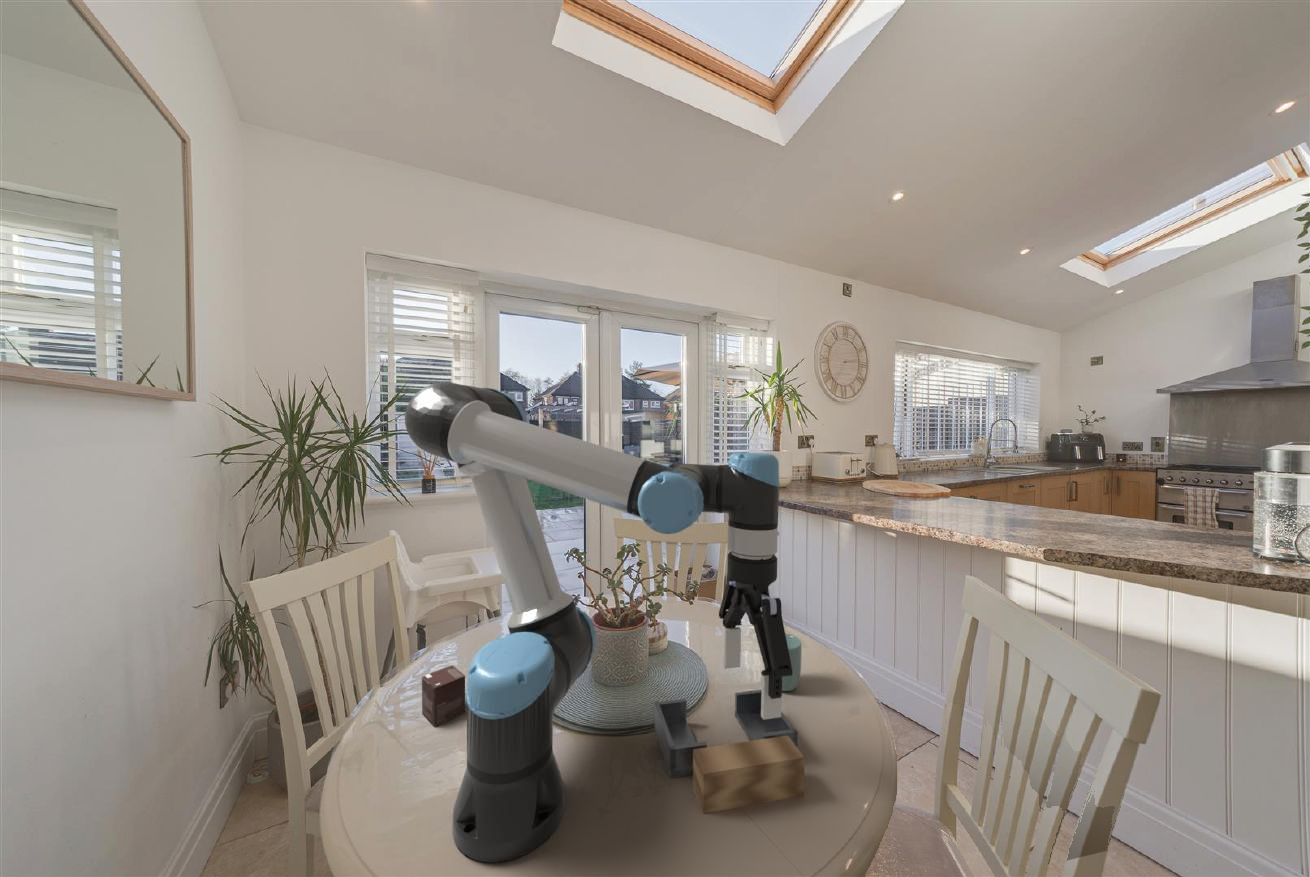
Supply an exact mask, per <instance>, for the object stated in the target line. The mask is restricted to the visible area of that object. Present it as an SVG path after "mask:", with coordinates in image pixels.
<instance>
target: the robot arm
mask: <svg viewBox="0 0 1310 877" xmlns="http://www.w3.org/2000/svg"><path fill="white" fill-rule="evenodd" d="M404 413H405V415H404V424H405V425H404V426H405V428H406V429H405V430H406V432H407V434H408V435H409V438H410V439H411V441H412V442H413V443H414V444H415V445H416V446H417V447H418V448H419V449H421V450H422V451H424V452H426V453H428V454H430V455H433V456H437V457H439V458H442V459H445V460H449V461H450V462H454V463H456V464H457V468H458V471H459V473H462V474H464V475H465V476H467V477H469V478H471V481H472V483H473V484H472V485H473V487H474V490H475V494H476V497H477V501H478V504H479V506H480V509H481V510H480V511H481V514H482V515H483V516H482V517H483V519H484V522H485V526H486V529H487V533H488V535H489V538H490V541H491V545H492V547H493V552H494V554H495V557H496V561H497V564H498V567H499V570H500V574H501V577H502V580H503V583H504V586H505V589H506V592H507V597H508V599H509V602H510V606H511V609H512V612H511V614H510V617H509V619H508V621H507V624H506V625H507V628H508V632H509V633H507V634H505V636H504V637H503V638H501V637H498V638H495V639H493V640H491V641H489V642H488V643H486V644H485V645H483V647H481V648H480V649H479V650H478V651H477V652H476V654H475V655H474V656H473V658H472V660H471V661H470V663H469V666H468V671H467V682H466V684H465V702H466V769H465V771H464V775H463V778H462V781H461V784H460V787H459V790H458V792H457V796H456V799H455V802H454V805H453V812H452V838H453V840H454V843H455V845H456V847H457V849H458V850H459V851H460V852H461V853H462V854H464V855H465V856H466V855H467V857H468V858H471V859H472V860H475V861H478V862H484V861H485V862H484V863H499V862H506V861H510V860H513V859H517V858H520V857H523V856H525V855H526V854H528V853H530V852H532V851H534V850H536V848H537V847H539V846H541V845H542V844H543V843H544V842H545V841H546V840H548V838H549V837H550V836H551V835H552V834H553V833H554V831H555V830H556V829H557V827H558V825H559V824H560V822H561V820H562V817H563V814H564V810H565V785H564V784H565V783H564V779H563V777H562V773H561V771H560V768H559V765H558V762H557V759H556V756H555V753H554V751H553V750H554V749H553V746H554V744H553V740H554V738H553V736H554V735H553V734H554V732H553V730H554V728H553V727H554V713H555V710H556V709H557V707H558V706H559V705H560V703H561V702H562V700H563V699H564V698H565V696H566V695H567V693H568V692H569V691H570V690H571V688H572V687H573V685H574V684H575V682H576V681H577V680H578V679H579V678H580V677H581V676H582V675H583V674H584V672H585V671H586V669H587V668H588V666H589V665H590V662H591V660H592V658H593V656H594V654H595V650H596V645H597V634H596V628H595V626H594V623H593V621H592V619H591V617H590V616H589V614H587V612H586V611H583V610H581V608H580V607H578V606H577V605H576V602H575V598H574V596H573V595H571V594H569V593H567V592H565V591H563V590H562V588H561V583H560V582H559V578H558V575H557V572H556V570H555V566H554V563H553V560H552V556H551V553H550V550H549V547H548V545H547V541H546V538H545V535H544V532H543V529H542V525H541V522H540V520H539V519H540V518H539V517H538V514H537V510H536V507H535V505H534V504H535V503H534V501H533V498H532V494H531V491H530V489H529V486H528V482H527V480H530V481H532V482H536V483H538V484H542V485H544V486H547V487H550V488H553V489H556V490H559V491H562V492H564V493H568V494H571V495H574V496H577V497H580V498H582V499H585V500H589V501H591V502H595V503H597V504H599V505H603V506H606V507H609V508H611V509H615V510H617V511H621V512H623V513H626V514H630V515H632V516H635V517H638V518H640V519H641V520H642V521H643V522H644V523H645V525H646V526H648V527H649V528H650V529H651V530H652V531H654V532H656V533H659V534H663V535H673V534H678V533H681V532H683V531H684V530H686V529H688V528H689V527H691V526H693V524H695V522H697V520H698V519H699V517H700V516H701V515H702V513H714V514H715V513H717V514H728V523H727V549H728V551H729V553H727V567H726V568H727V571H726V572H727V573H726V585H725V588H724V591H723V595H722V600H721V603H720V607H719V611H718V618H719V619H722V626H723V627H724V629H723V630H724V631H723V632H724V633H723V635H724V636H723V640H724V641H723V668H724V669H735V668H740V667H741V656H742V655H741V654H742V653H741V651H742V650H741V648H742V646H741V645H742V642H741V641H742V628H741V627H739V626H743V624H742V619H743V618H744V616H745V614H746V616H747V618H748V622H749V623H750V625H752V626H753V628H754V632H755V635H756V640H757V644H758V647H759V648H758V649H759V651H760V655H761V659H762V662H763V667H765V669H763V670H761V671H760V674H761V689H760V690H761V717H762V718H763V720H765V719H771V718H778V717H781V711H782V696H783V691H782V677H784V676H792V674H793V671H792V666H791V661H790V656H789V651H788V645H787V640H786V635H785V633H786V630H785V626H784V625H785V624H784V620H783V617H782V616H783V615H782V613H783V612H782V600H781V598H780V597H771V596H770V591H769V587H770V585H772V584H773V583H775V582H776V581H777V578H778V557H777V556H776V554H777V553H778V540H779V539H778V538H779V535H780V532H779V531H778V527H779V507H780V506H779V505H780V503H779V500H780V485H781V484H780V470H779V469H780V467H779V466H780V465H779V459H778V458H777V457H776V456H775V455H774V454H772V453H763V452H733V453H731V454H730V456H729V460H728V464H719V465H718V464H716V465H715V464H699V463H698V464H697V463H695V464H694V463H680V462H671V463H657V462H655V461H654V462H653V461H649V460H647V459H643V458H641V457H638V456H633V455H632V454H628V453H624V452H622V451H619V450H615V449H612V448H609V447H605V446H604V445H600V444H596V443H593V442H589V441H586V440H583V439H581V438H577V437H573V436H570V435H567V434H564V433H561V432H557V431H555V430H550V429H548V428H546V427H542V426H539V425H535V424H532V423H529V422H528V421H527V415H526V413H525V409H523V407H522V405H521V404H520V403H519V401H518V400H517V399H516V398H514V397H513V396H512V395H509V394H508V393H507V392H506V393H505V392H503V391H501V390H499V389H495V388H488V387H477V386H470V385H465V384H461V383H460V384H459V383H456V382H448V381H447V382H438V383H437V382H436V383H433V384H430V385H427V386H425V387H424V388H421V389H420V390H419V391H417V392H416V393H415V394H414V395H413V396H412V398H411V399H410V400H409V402H408V405H407V406H406V409H405V412H404Z"/></svg>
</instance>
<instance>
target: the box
mask: <svg viewBox="0 0 1310 877" xmlns="http://www.w3.org/2000/svg"><path fill="white" fill-rule="evenodd" d="M465 713H466V675H465V674H464V673H463V672H461V671H460V670H459V669H458V668H456V666H454V665H453V664H451V665H449V666H447V667H444V668H441V669H439V670H436V671H433V672H429V673H427V674H426V675H423V676H421V714H422V715H423V716H424V718H426V719H427V721H428V722H429V723H430V724H431V725H432V726H433V727H437V726H439V725H441V724H443V723H445V722H447V721H450V720H451V719H454V718H456V717H458V716H461V715H462V714H465Z"/></svg>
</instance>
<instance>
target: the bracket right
mask: <svg viewBox="0 0 1310 877" xmlns="http://www.w3.org/2000/svg"><path fill="white" fill-rule="evenodd" d="M734 696H735V697H734V717H735V719H736V720H737V722H738V723H739V725H740V726H741V728H742V730H743V731H744V733H745V735H746V736H747V737H748V739H749V741H754V740H760V739H767V738H774V737H781V736H787V735H788V736H789V738H790V739H791V740H792V742H793V743H794V744H795V746H796V747H797V748H798V742H799V741H798V740H799V738H798V734H799V733H798V730H797V729H796V728H795V727H794V726H793V724H792V723H791V722H790V720H789V719H788V718H787V717H786V716H787V715H785V714H784V713H783V711H782V710H781V717H778V718H771V719H765V720H763V718H762V717H761V689H757V690H749V691H747V690H746V691H739V692H735V694H734Z"/></svg>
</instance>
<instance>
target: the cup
mask: <svg viewBox="0 0 1310 877" xmlns="http://www.w3.org/2000/svg"><path fill="white" fill-rule="evenodd" d="M785 635H786V640H787V645H788V651H789V656H790V661H791V666H792V671H793V674H792V676H784V677H782V692H790V691H793V690H795V689H797V686H798V685H799V683H800V680H801V679H800V678H801V671H802V652H803V651H802V648H803V647H802V641H801V640H800V639H799V637H797V636H795V635H793V634H790V633H786V632H785ZM763 667H764V666H763ZM763 670H765V667H764V669H763Z"/></svg>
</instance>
